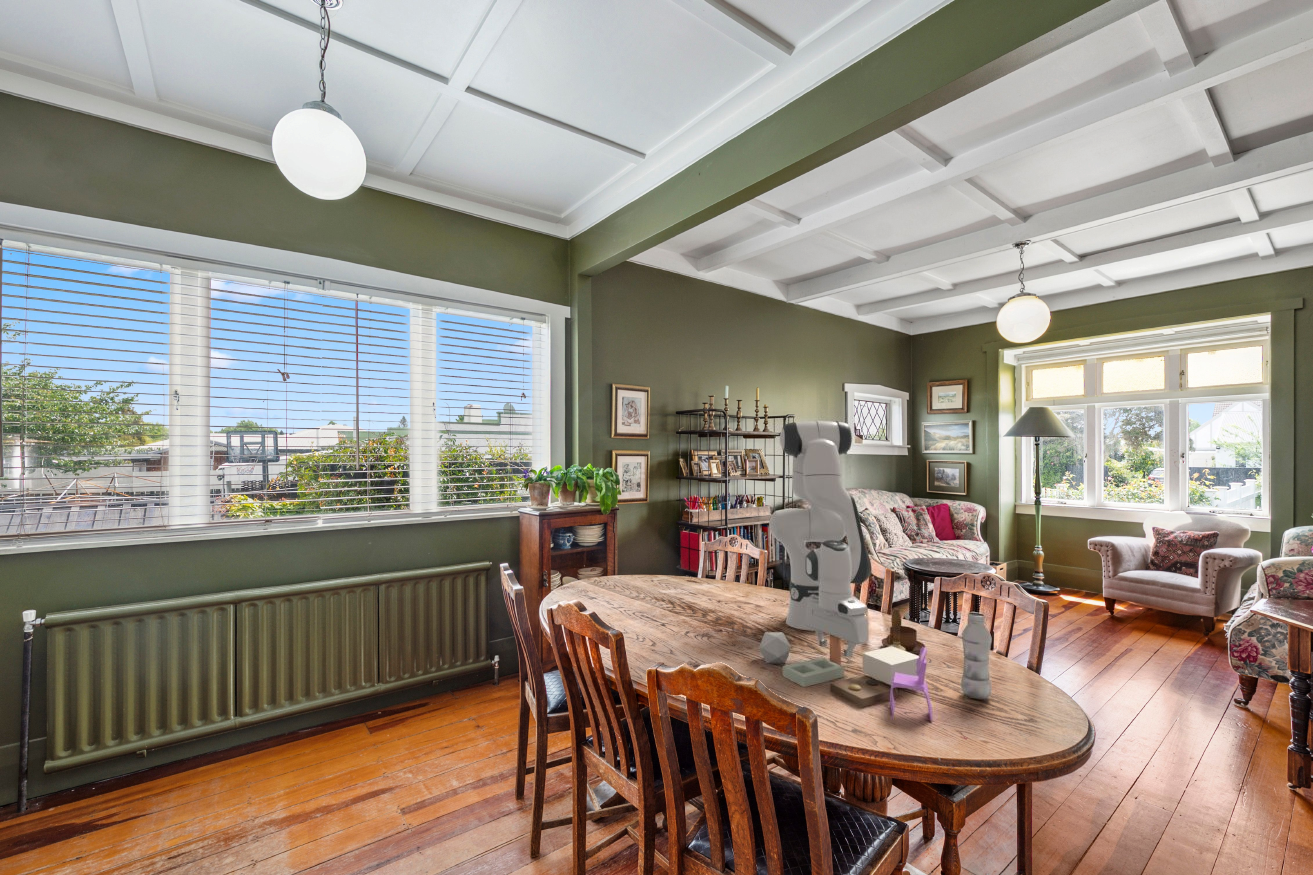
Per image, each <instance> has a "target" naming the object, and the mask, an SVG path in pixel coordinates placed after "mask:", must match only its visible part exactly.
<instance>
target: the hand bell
mask: <svg viewBox="0 0 1313 875" xmlns="http://www.w3.org/2000/svg"><path fill="white" fill-rule="evenodd" d="M900 612H901V611H900V608H897V607H895V608H893V611H892V613H891V618H890V619H891V621H890V622H891V627H893V632H894V635H893V638H894V639H893V645H890V646H889V647H891V646H893V647H896V648H898V649H901V650H904V651H906V650H905V648H904V647H902V646H901V645H900V628H901V626H902V616H901V613H900Z"/></svg>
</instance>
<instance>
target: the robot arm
mask: <svg viewBox="0 0 1313 875" xmlns="http://www.w3.org/2000/svg"><path fill="white" fill-rule="evenodd" d="M779 443H780V446H781V450H782V451H783V452H784V453H785V454H786V455H788V456H791V457H793V462H792V479H791V480H792V484H791V488H792V492H793V494H794V495H795V497H797V498H798V499H800V500H802V501H804V502H806V503H808V504H809V505H810V508H785V509H779V510H775V511H774V512H773V513H772V514H771V516H770V518H769V522H768V525H769V526H768V527H769V531H770V533H771V534H772V536H773V537H774V538H775V539H776V541H778V542H780V544H782V546H783V547H784V548H785V550H786V552H787V554H788V557H789V563H790V565H789V566H790V581H789V596H790V597H789V602H788V612H787V616H786V620H785V624H786V625H787V626H789V627H792V628H794V629H798V630H804V631H811V632H812V631H813V632H814V631H815V635H816V637H817V640H818V646H819V647H822V648H826V647H827V646H828V645H827V643H828V642H827V639H825V635H824V633H825V634H828V635H829V636H830V635H833V636H835V637H838V638H841V640H844V641H846V646H847V648H845V649H843V655H844V657H846V658H849V659H851V658H853V654H854V653H853V651H854V649H855V647H856V646H858V645H864V644H866V643H867V642H868V641H869V620H868V618H867V615H866V614H867V613H868V607H867V604H865V603H863V602H862V601H861V600H859V599H858V598H857V597H856V596H855V595H853V588H852V584H854V585H855V584H856V585H862V584H863V583H864V582H866V581H867V580H868V579H869V578H870V576H871V575H872V571H873V570H872V563H871V559H870V555H869V552H868V550H867V546H866V542H865V536H864V532H863V527H862V524H861V520H860V514H859V510H858V506H857V504H856V503H857V502H856V500H855V498H854V496H853V495H852V494H850V493H848V491H847V490H846V488H845V485H844V483H843V479H842V478H843V476H842V475H843V474H842V465H841V459H840V456H841V455H844V454H846V453H848V451H850V450H851V447H852V446H851V445H852V443H853V433H852V430H851V427H850V425H849V424H848V423H846V422H843V421H838V420H836V421H831V420H830V421H828V420H815V421H812V420H811V421H800V422H796V421H793V422H789V423H786V424H784V425H783V427H782V429H781V431H780V435H779ZM845 536H846V540H847V543H846V542H843V541H842V540H843V539H844V538H845ZM808 542H809V543H811V542H813V543H815V542H816V543H821V544H820V545H819V546H820V547H818V548H814V549H812V550H810V549H808V548H807V546H806V544H807V543H808Z"/></svg>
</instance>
